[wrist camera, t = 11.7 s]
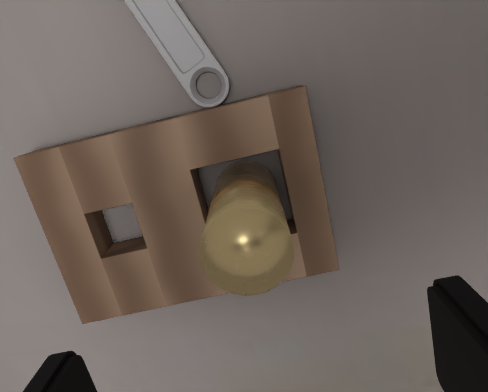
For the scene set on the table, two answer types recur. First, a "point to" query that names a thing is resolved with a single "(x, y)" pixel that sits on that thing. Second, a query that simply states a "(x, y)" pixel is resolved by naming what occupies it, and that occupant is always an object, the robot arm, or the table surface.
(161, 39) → the adjustable wrench
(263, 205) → the brass peg
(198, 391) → the table surface
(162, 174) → the socket board
